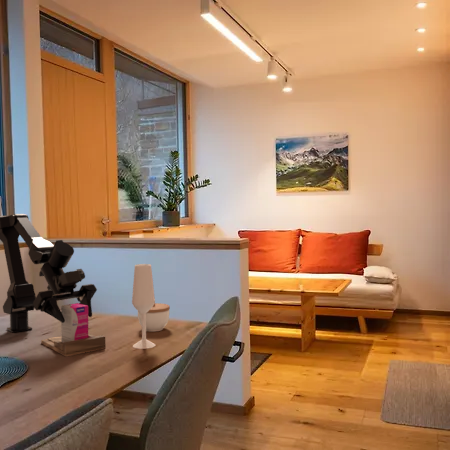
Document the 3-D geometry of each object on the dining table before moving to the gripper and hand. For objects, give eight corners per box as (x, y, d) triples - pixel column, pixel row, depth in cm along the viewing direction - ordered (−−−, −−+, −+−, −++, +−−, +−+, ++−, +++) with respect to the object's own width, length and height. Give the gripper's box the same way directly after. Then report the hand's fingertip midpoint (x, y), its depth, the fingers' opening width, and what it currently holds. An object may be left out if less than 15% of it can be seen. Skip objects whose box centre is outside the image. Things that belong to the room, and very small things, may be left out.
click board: (41, 343, 158) (41, 332, 158) (78, 336, 166) (78, 325, 166) (66, 356, 144) (65, 344, 144) (105, 348, 152) (105, 336, 152)
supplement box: (72, 347, 150) (71, 308, 149) (60, 344, 153) (60, 305, 153) (89, 343, 154) (88, 304, 153) (78, 340, 158) (77, 302, 157)
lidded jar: (131, 331, 172) (130, 303, 171) (148, 324, 182) (147, 297, 181) (160, 334, 168) (159, 305, 167) (175, 327, 178) (175, 299, 177)
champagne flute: (143, 341, 159) (142, 263, 158) (160, 344, 156) (159, 264, 155) (127, 346, 154) (126, 265, 153) (144, 350, 150) (143, 266, 149)
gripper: (37, 263, 148) (59, 307, 141) (92, 258, 162) (115, 297, 155) (23, 288, 153) (44, 331, 147) (78, 280, 168) (100, 319, 161)
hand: (77, 319), depth 152 cm, fingers open, 9 cm apart
